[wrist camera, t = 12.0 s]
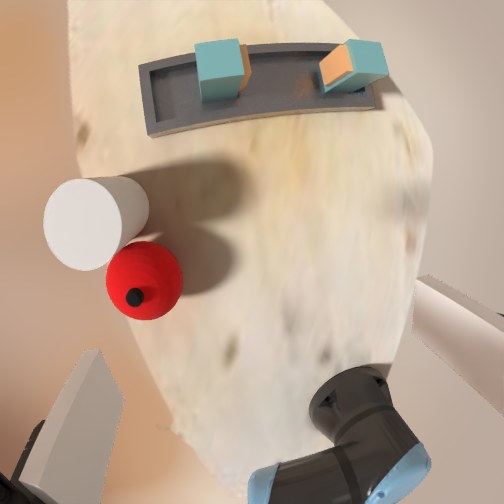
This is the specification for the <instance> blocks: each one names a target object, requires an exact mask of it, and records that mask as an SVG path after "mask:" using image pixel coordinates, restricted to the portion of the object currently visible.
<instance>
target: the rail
mask: <svg viewBox="0 0 504 504" xmlns="http://www.w3.org/2000/svg"><path fill="white" fill-rule="evenodd" d="M339 45H343V44H332V43H275V44H259V45H247V51H248V57H249V62H250V67H251V72H252V73H251V75H250V77H249V80H248V82H247V84H246V86H245V89H244V91H238V94H237V97H236V98H235V99H228V100H221V101H215V102H209V103H203V104H202V99H201V93H200V86H199V80H198V73H197V64H196V54H195V53H190V54H184V55H179V56H175V57H170V58H166V59H161V60H157V61H153V62H149V63H145V64H142V65H138V67H139V76H140V85H141V93H142V101H143V108H144V115H145V122H146V129H147V135H148V136H150V137H151V138H156V137H160V136H164V135H168V134H173V133H177V132H182V131H186V130H191V129H196V128H201V127H206V126H212V125H217V124H223V123H229V122H235V121H242V120H249V119H256V118H264V117H272V116H281V115H291V114H303V113H317V112H335V111H366V110H369V109H372V108H375V107H376V103H375V98H374V93H373V88H372V84H371V83H370V84H368V85H366V86H364V87H362V88H360V89H358V90H356V91H354V92H325V88H324V83H323V78H322V74H321V70H320V66H319V63H320V62H321V61H322V60H323V59H324V58H325V57H326V56H328V55H329V54H330V53H331V52H332V51H333V50H334V49H335V48H337V47H338V46H339Z"/></svg>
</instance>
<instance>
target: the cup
mask: <svg viewBox="0 0 504 504" xmlns="http://www.w3.org/2000/svg"><path fill="white" fill-rule="evenodd" d="M148 216H149V201H148V197H147V195H146V193H145V191H144V189H143V188H142V187H141V185H140V184H138V183H137V182H136V181H134V180H133V179H131V178H128V177H124V176H113V177H96V178H82V179H74V180H70V181H68V182H66V183H64V184H62V185H61V186H59V187H58V188H57V189H56V190H55V192H54V193H53V194H52V195H51V197H50V199H49V200H48V203H47V206H46V208H45V213H44V233H45V236H46V240H47V243H48V245H49V247H50V249H51V251H52V252H53V253H54V255H55V256H56V257H57V258H58V259H59V260H60V261H61V262H62V263H64V264H65V265H67V266H69V267H71V268H74V269H77V270H83V271H87V270H93V269H96V268H99V267H101V266H102V265H104V264H105V263H107V262H108V261H109V260H110V259H111V258H112V257H113V256H114V255H115V254H116V253H117V252H118V251H120V250H121V249H122V248H123V247H124V246H125V245H126V244H127V243H128V242H130V241H131V240H132V239H133V238H134V237H135V236H136V235H137V234H139V233H140V232H141V231H142V229H143V228H144V226H145V225H146V223H147V220H148Z"/></svg>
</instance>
